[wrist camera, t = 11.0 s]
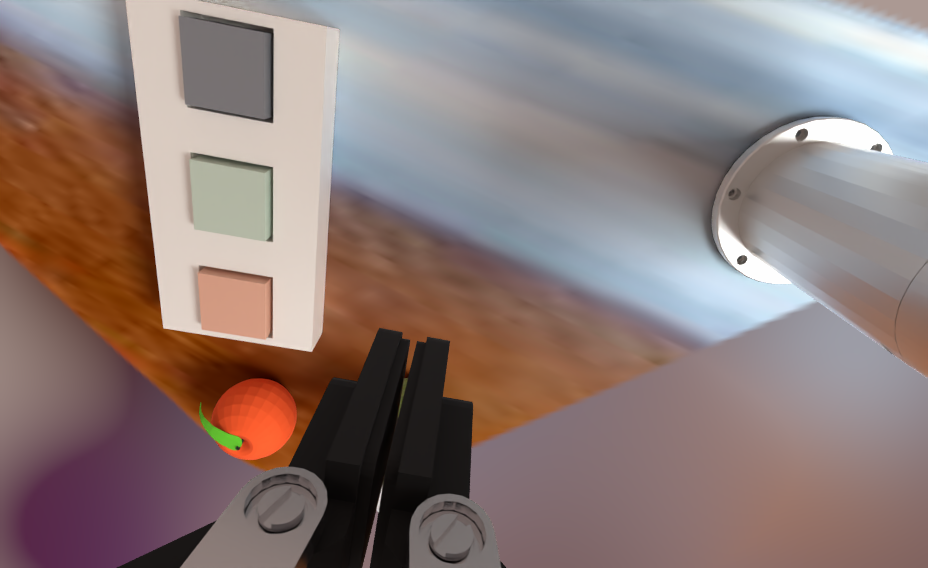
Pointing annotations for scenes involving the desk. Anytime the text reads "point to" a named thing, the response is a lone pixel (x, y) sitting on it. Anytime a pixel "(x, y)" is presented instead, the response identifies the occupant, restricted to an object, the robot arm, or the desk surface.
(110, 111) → the desk surface
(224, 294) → the terracotta button
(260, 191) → the sage button
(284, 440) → the clementine
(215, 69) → the charcoal button
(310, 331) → the panel
